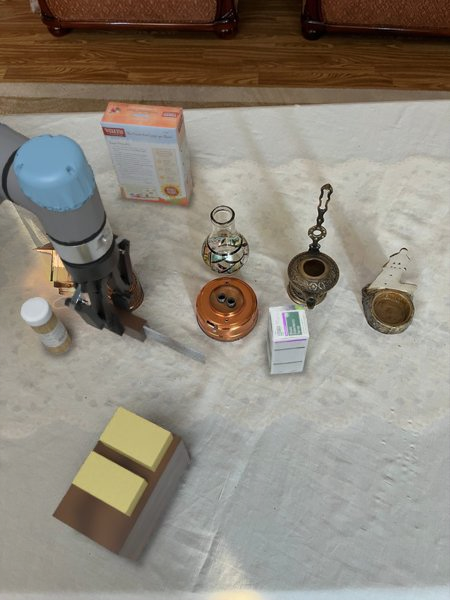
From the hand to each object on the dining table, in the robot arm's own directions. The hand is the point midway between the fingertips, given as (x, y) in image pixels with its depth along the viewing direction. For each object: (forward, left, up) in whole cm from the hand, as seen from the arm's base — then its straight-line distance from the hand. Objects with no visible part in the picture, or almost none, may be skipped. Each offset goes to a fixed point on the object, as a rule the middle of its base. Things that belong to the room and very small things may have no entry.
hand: (120, 323), depth 88 cm
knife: (+6, 0, 0) cm, 6 cm away
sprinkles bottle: (-11, -6, -7) cm, 14 cm away
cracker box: (-13, +32, -7) cm, 35 cm away
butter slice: (+15, -23, +7) cm, 28 cm away
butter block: (+15, -17, +7) cm, 24 cm away
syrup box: (+26, +9, -7) cm, 29 cm away
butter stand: (+15, -22, -7) cm, 27 cm away
